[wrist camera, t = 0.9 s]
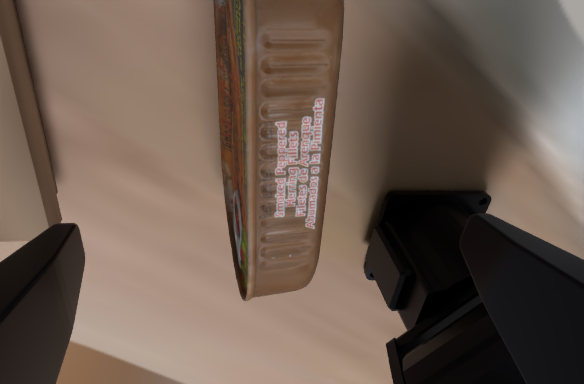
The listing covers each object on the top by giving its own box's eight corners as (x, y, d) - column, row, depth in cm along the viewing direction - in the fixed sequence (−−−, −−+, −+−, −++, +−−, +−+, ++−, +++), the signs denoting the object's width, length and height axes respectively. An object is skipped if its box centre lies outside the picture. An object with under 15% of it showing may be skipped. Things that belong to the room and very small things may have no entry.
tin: (206, -138, 14) (208, -187, 7) (297, -131, 15) (378, -170, 8) (223, 216, 22) (232, 350, 16) (281, 212, 23) (314, 340, 16)
